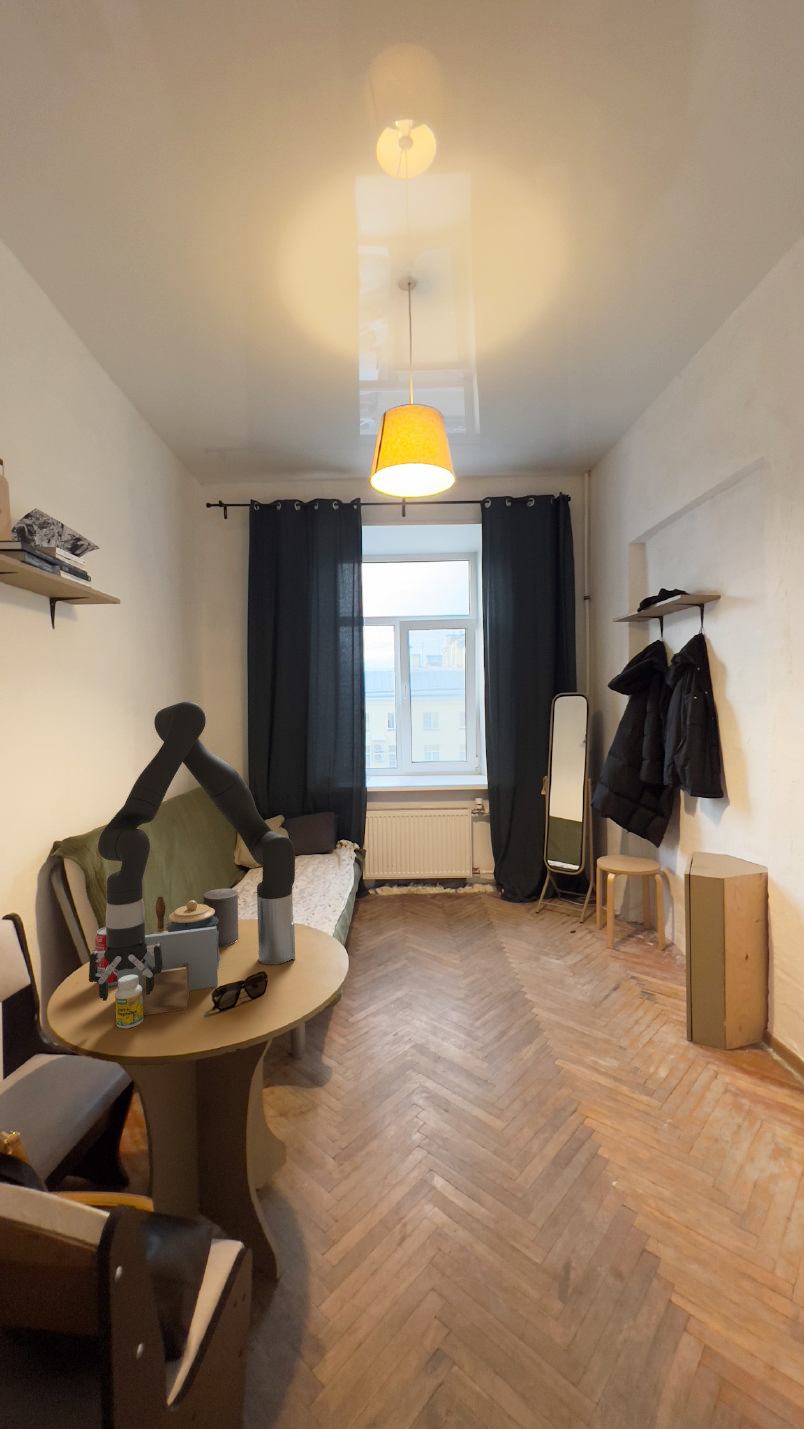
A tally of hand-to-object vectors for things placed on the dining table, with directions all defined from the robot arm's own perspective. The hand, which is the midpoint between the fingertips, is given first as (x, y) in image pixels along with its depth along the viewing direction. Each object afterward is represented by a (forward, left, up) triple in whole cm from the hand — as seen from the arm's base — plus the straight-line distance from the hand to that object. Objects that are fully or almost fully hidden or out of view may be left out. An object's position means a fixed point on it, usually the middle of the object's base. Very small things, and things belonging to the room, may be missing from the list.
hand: (127, 996), depth 130 cm
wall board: (-7, -12, -6) cm, 15 cm away
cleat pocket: (-7, -7, -6) cm, 12 cm away
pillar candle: (-19, -41, -6) cm, 46 cm away
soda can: (+7, -23, -6) cm, 25 cm away
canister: (-12, -24, -6) cm, 28 cm away
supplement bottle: (0, 0, -6) cm, 6 cm away
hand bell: (-3, -37, -6) cm, 37 cm away
